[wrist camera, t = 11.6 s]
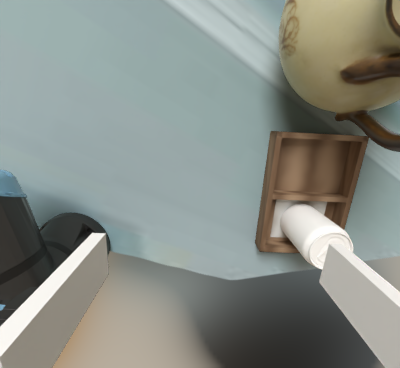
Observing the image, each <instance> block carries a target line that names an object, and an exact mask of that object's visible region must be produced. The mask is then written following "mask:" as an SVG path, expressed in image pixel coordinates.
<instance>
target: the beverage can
mask: <svg viewBox="0 0 400 368" xmlns="http://www.w3.org/2000/svg"><path fill="white" fill-rule="evenodd" d="M280 224H281V229H282V231H283V232H284V233H285V235H286V236H287V237H288V238H289V240H290V241H291V242H292V243H293V245H294V246H295V247H296V248H297V250H298V251H299V252H300V253H301V255H302V256H303V257H304V258H305V260H306V261H307V262H308V263H310V264H311V265H313V266H315V267H317V268H319V269H322V270H323V266H324V262H325V258H326V254H327V250H328V246H329V244H342V245H344V246H345V247H346V248H347V249H348V250H350V251H351V252H352V253H353V244H352V241H351V239H350V237H349V235H348V234H347V232H346V231H345V230H343V229H342V228H341V227H339V226H338V225H337V224H335V223H334V222H332V221H331V220H330V219H328V218H327V217H325V216H324V215H323V214H321V213H320V212H318V211H317V210H316V209H314V208H313V207H311V206H310V205H307V204H296V205H293V206H291V207H290V208H288V209H287V210H286V211H285V212H284V213H283V215H282V217H281V222H280Z"/></svg>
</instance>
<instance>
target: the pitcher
mask: <svg viewBox="0 0 400 368" xmlns="http://www.w3.org/2000/svg"><path fill="white" fill-rule="evenodd" d="M279 54H280V61H281V65H282V69H283V72H284V74H285V76H286V78H287V80H288V82H289V83H290V85H291V87H292V88H293V89H294V90H295V92H296V93H297V94H298V95H299V96H300V97H301V98H302V99H304V100H305V101H306V102H308V103H309V104H311V105H313V106H315V107H317V108H320V109H323V110H326V111H331V112H336V116H335V120H336V121H343V120H349V121H352V122H353V123H355V124H356V125H357V126H358V127H360V128H361V129H362V130H363V131H364V132H365V134H366V135H367V136H368V137H369V138H370V139H371V140H373V141H374V142H375V143H377V144H378V145H380V146H382V147H384V148H386V149H389V150H392V151H397V152H400V134H396V133H394V132H392V131H390V130H388V129H387V128H385V127H384V126H383V125H381V124H380V123H379V122H378V121H376V120H375V119H374V118H373V117H371V116H370V115H368V114H367V112H368V111H371V110H375V109H379V108H382V107H385V106H387V105H390V104H392V103H394V102H396V101H398V100H400V0H286V3H285V6H284V9H283V13H282V17H281V22H280V28H279Z"/></svg>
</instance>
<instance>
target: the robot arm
mask: <svg viewBox="0 0 400 368" xmlns="http://www.w3.org/2000/svg"><path fill="white" fill-rule="evenodd" d="M26 198H27V195H26V194H24V193H23V191H22V189H21V187H20V185H19V183H18V181H17V179H16V177H15V176H14V175H13V174H12V173H10V172H8V171H5V170H0V368H52V367H53V366H54V364H55V362H56V361H57V359H58V357H59V356H60V354H61V352H62V351H63V349H64V347H65V346H66V344H67V342H68V341H69V339H70V337H71V336H72V334H73V332H74V331H75V329H76V327H77V326H78V324H79V322H80V321H81V319H82V317H83V316H84V314H85V312H86V311H87V309H88V307H89V306H90V304H91V302H92V301H93V299H94V297H95V296H96V294H97V293H98V291H99V289H100V287H101V286H102V284H103V283H104V281H105V279H106V277H107V276H108V274H109V269H108V254H109V251H110V242H109V238H108V235H107V233H106V232H105V230H104V229H103V227H102V226H101V225H100V224H99V223H98V222H96V221H95V220H94V219H92V218H90V217H88V216H86V215H83V214H79V213H64V214H60V215H58V216H56V217H54V218H52V219H51V220H49V221H48V222H46V223H45V224H44V225H43V226H42V227H41V228H40V230H39V228H38V226H37V223H36V221H35V218H34V216H33V213H32V211H31V209H30V206H29V204H28V201H27V199H26ZM319 282H320V284H321V285H322V286H323V287H324V289H325V290H326V292H327V293H328V294H329V295H330V297H331V298H332V299H333V301H334V302H335V303H336V304H337V306H338V307H339V308H340V310H341V311H342V312H343V313H344V315H345V316H346V317H347V318H348V320H349V321H350V323H351V324H352V325H353V327H354V328H355V329H356V330H357V332H358V333H359V334H360V336H361V337H362V338H363V339H364V341H365V342H366V343H367V345H368V346H369V347H370V349H371V350H372V351H373V352H374V354H375V355H376V356H377V358H378V359H379V360H380V362H381V363H382V364H383V365H384V367H385V368H400V292H399V291H398V290H397V289H396V288H394V287H393V286H392V285H390V284H389V283H388V282H387V281H386V280H385V279H383V278H382V277H381V276H380V275H379V274H377V273H376V272H375V271H374V270H372V269H371V268H370V267H369V266H368V265H366V264H365V263H364V262H363V261H362V260H361V259H359V258H358V257H357V256H356V255H354V254H353V253H352V252H351V251H350V250H348V249H347V248H346V247H345V246H344V245H342V244H329V246H328V250H327V254H326V258H325V262H324V266H323V270H322V273H321V277H320V281H319Z"/></svg>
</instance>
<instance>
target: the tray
mask: <svg viewBox="0 0 400 368" xmlns="http://www.w3.org/2000/svg"><path fill="white" fill-rule="evenodd" d="M368 139H369V137H368V136H354V135H335V134H316V133H297V132H278V131H271V133H270V140H269V147H268V154H267V161H266V168H265V175H264V183H263V190H262V197H261V204H260V211H259V218H258V225H257V232H256V240H255V243H256V245H257V247H258V249H259V251H260V252H284V253H300V252H299V251H298V250H297V248H296V247H295V246H294V245H293V243H292V242H291V241H290V240H289V238H288V237H287V236H286V235H285V233H284V232H283V231H282V229H281V224H280V222H281V217H282V215H283V213H284V212H285V211H286V210H287V209H288V208H290V207H291V206H293V205H296V204H307V205H310V206H311V207H313V208H314V209H316V210H317V211H318V212H320V213H321V214H323V215H324V216H325V217H327V218H328V219H330V220H331V221H332V222H334V223H335V224H337V225H338V226H339V227H341V228H342V229H343V230H344V229H345V225H346V221H347V217H348V214H349V210H350V206H351V203H352V199H353V195H354V191H355V188H356V184H357V180H358V176H359V173H360V169H361V165H362V162H363V158H364V154H365V150H366V147H367V143H368Z"/></svg>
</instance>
